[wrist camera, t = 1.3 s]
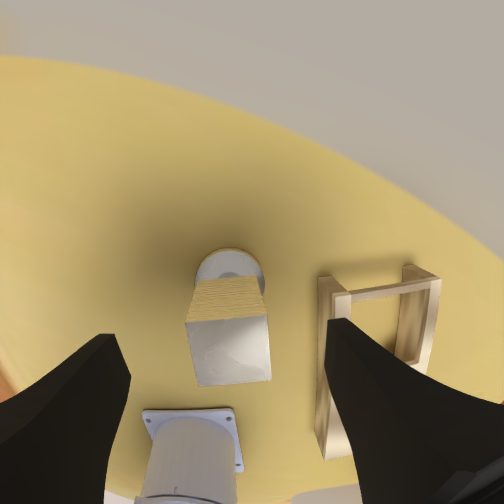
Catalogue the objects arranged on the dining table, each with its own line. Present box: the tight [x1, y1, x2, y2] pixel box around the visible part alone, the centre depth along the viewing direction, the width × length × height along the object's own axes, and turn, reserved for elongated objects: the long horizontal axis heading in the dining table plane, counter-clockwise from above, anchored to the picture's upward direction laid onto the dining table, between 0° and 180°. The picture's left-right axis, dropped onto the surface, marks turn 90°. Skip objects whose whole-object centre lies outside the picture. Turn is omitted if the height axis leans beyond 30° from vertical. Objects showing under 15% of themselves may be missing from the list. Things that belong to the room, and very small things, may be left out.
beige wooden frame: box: [315, 265, 442, 461], centre depth 21 cm, size 16×8×4 cm, turn 5°
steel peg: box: [185, 248, 272, 386], centre depth 16 cm, size 4×4×9 cm
